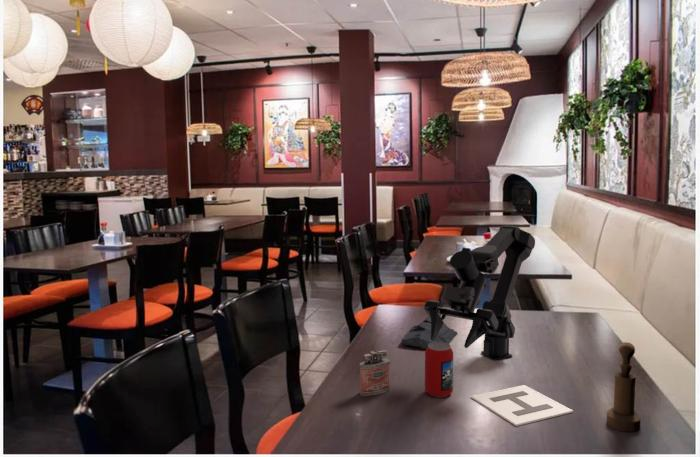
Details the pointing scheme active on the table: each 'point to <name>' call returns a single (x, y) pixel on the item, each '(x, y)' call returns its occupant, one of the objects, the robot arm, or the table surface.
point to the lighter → (374, 373)
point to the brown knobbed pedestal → (624, 395)
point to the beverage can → (439, 369)
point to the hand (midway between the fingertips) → (448, 343)
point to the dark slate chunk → (427, 335)
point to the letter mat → (521, 405)
